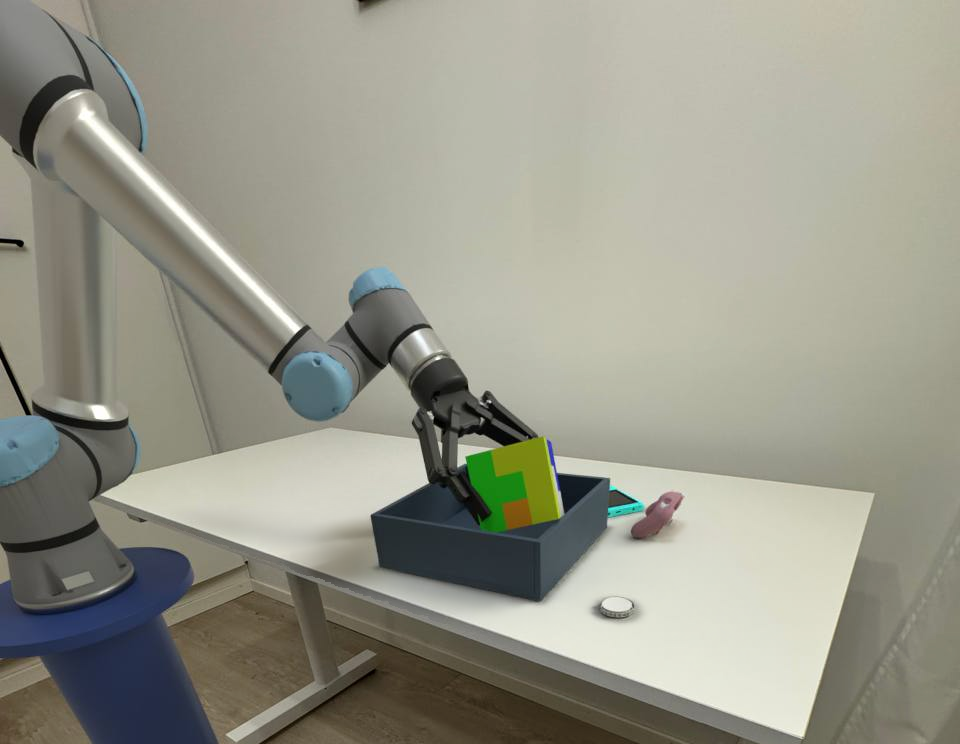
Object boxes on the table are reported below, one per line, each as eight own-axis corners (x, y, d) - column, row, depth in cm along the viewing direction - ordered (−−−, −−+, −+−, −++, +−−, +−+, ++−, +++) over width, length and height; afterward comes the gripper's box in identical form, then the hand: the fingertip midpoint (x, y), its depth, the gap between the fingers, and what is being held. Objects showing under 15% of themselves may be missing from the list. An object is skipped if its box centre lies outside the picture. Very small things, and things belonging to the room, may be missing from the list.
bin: (379, 567, 80) (370, 514, 76) (468, 508, 99) (464, 463, 94) (540, 601, 69) (540, 542, 65) (607, 528, 87) (610, 477, 83)
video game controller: (652, 551, 83) (679, 514, 78) (626, 534, 83) (651, 496, 79) (668, 527, 90) (694, 492, 85) (644, 512, 91) (668, 476, 86)
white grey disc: (628, 599, 68) (629, 595, 68) (637, 616, 65) (638, 611, 64) (596, 601, 68) (596, 597, 68) (603, 618, 65) (604, 613, 64)
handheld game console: (599, 483, 106) (599, 476, 105) (645, 510, 93) (646, 502, 92) (550, 492, 103) (551, 485, 102) (592, 520, 90) (592, 512, 90)
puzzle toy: (564, 514, 78) (551, 442, 76) (558, 518, 69) (543, 436, 67) (496, 529, 81) (482, 459, 79) (482, 535, 72) (465, 456, 69)
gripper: (480, 380, 86) (558, 493, 85) (349, 413, 72) (441, 548, 71) (504, 342, 80) (588, 463, 79) (366, 369, 65) (466, 517, 65)
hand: (518, 504), depth 75 cm, fingers open, 12 cm apart
